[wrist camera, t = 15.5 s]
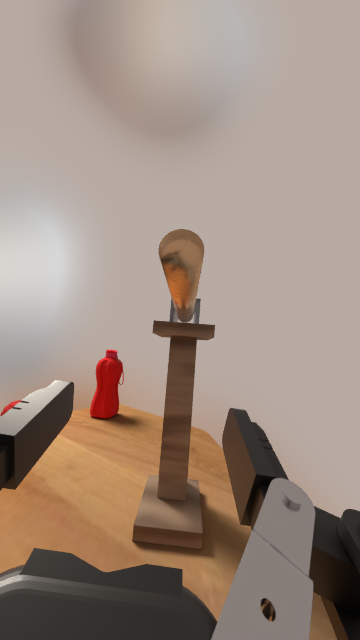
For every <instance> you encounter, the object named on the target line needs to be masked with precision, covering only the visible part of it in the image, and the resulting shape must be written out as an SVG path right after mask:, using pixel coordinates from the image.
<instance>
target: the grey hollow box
mask: <svg viewBox="0 0 360 640" xmlns="http://www.w3.org/2000/svg"><path fill="white" fill-rule="evenodd" d="M199 313H200V299H196V301H195V307H194V313H193V314H194V323H193V324H199ZM177 320H178V317H177V313H176V310H175V307H174V303H173V300H171V311H170V322H177Z"/></svg>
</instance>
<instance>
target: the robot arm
mask: <svg viewBox="0 0 360 640" xmlns="http://www.w3.org/2000/svg"><path fill="white" fill-rule="evenodd" d="M73 394H74V383H73V382H69V381H62V380H56V381H54V382H53V383H52V384H51V385H49V386H48V387H47V388H46V389H45V388H42V389H39V390H37V391H35V392H33V393H30V394H29V395H28V396H27V397H25V398H24V399H23V400H21V402H19V403H18V404H16V405H15V406H14V407H13V409H12V408H11V409H10V410H9V411H7V412H6V413H5V414H4V415H2V416H1V417H0V490H1V489H2V488H7V489H14V490H15V489H16V488H17V487H18V485H19V484H20V483H21V481H22V480H23V479H24V478H25V476H26V475H27V474H28V472H29V471H30V470H31V469H32V467H33V466H34V465H35V464H36V462H37V461H38V460H39V458H40V457H41V456H42V455H43V453H44V452H45V451H46V449H47V448H48V447H49V446H50V444H51V443H52V442H53V440H54V439H55V438H56V437H57V435H58V434H59V433H60V431H61V430H62V429H63V428H64V426H65V425H66V424H67V422H68V421H69V419H70V417H71V414H72V410H73ZM222 444H223V450H224V455H225V459H226V463H227V468H228V472H229V477H230V481H231V485H232V490H233V494H234V499H235V503H236V507H237V512H238V516H239V521H240V524H241V525H247V526H251V529H252V532H251V535H250V537H249V540H248V543H247V545H246V548H245V551H244V553H243V556H242V558H241V561H240V564H239V566H238V569H237V572H236V574H235V577H234V580H233V582H232V585H231V588H230V590H229V593H228V596H227V598H226V601H225V604H224V606H223V609H222V612H221V614H220V617H219V620H218V622H217V620H216V619H215V617H214V616H213V614H212V613H211V612H210V610H209V609H208V608H207V606H206V605H205V604H204V603H203V602H202V601H201V600H200V599H199V598H198V597H197V596H196V595H195V594H194V593H192V592H191V591H190V590H189V589H187V588H185V587H184V586H182V569H177V568H170V567H163V566H156V565H149V564H145V565H140V566H136V567H131V568H127V569H122V570H117V571H113V572H102V571H100V570H99V569H97V568H95V567H94V566H92V565H90V564H88V563H87V562H85V561H83V560H82V559H80V558H78V557H76V556H75V555H73V554H71V553H65V552H58V551H51V550H44V549H37V548H34V549H33V551H32V553H31V555H30V557H29V559H28V560H27V562H26V564H25V565H21V566H18V567H15V568H12V569H9V570H7V571H5V572H3V573H0V640H309V634H310V623H311V611H312V599H313V592H315V593H317V594H318V595H320V596H321V598H322V601H323V603H324V606H325V608H326V611H327V613H328V616H329V619H330V621H331V624H332V626H333V629H334V631H335V634H336V637H337V639H338V640H360V511H357V510H353V509H347V510H345V511H344V512H343V515H342V517H341V518H339V517H336V516H334V515H332V514H330V513H328V512H326V511H323V510H321V509H319V508H317V507H315V506H313V503H312V501H311V500H310V498H309V497H308V496H307V494H306V493H305V492H304V491H303V490H302V489H301V488H300V487H299V486H297V485H296V484H294V483H293V482H291V481H289V479H288V478H287V475H286V474H285V472H284V470H283V468H282V466H281V464H280V462H279V460H278V458H277V456H276V454H275V452H274V451H273V448H272V446H271V444H270V443H269V440H268V438H267V436H266V434H265V433H264V431H263V430H262V429H261V428H260V427H259V426H258V425H257V424H256V423H254V422H251V420H250V418H249V416H248V414H247V412H246V411H245V410H240V409H234V408H230V409H229V412H228V416H227V420H226V424H225V428H224V431H223V439H222Z"/></svg>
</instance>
